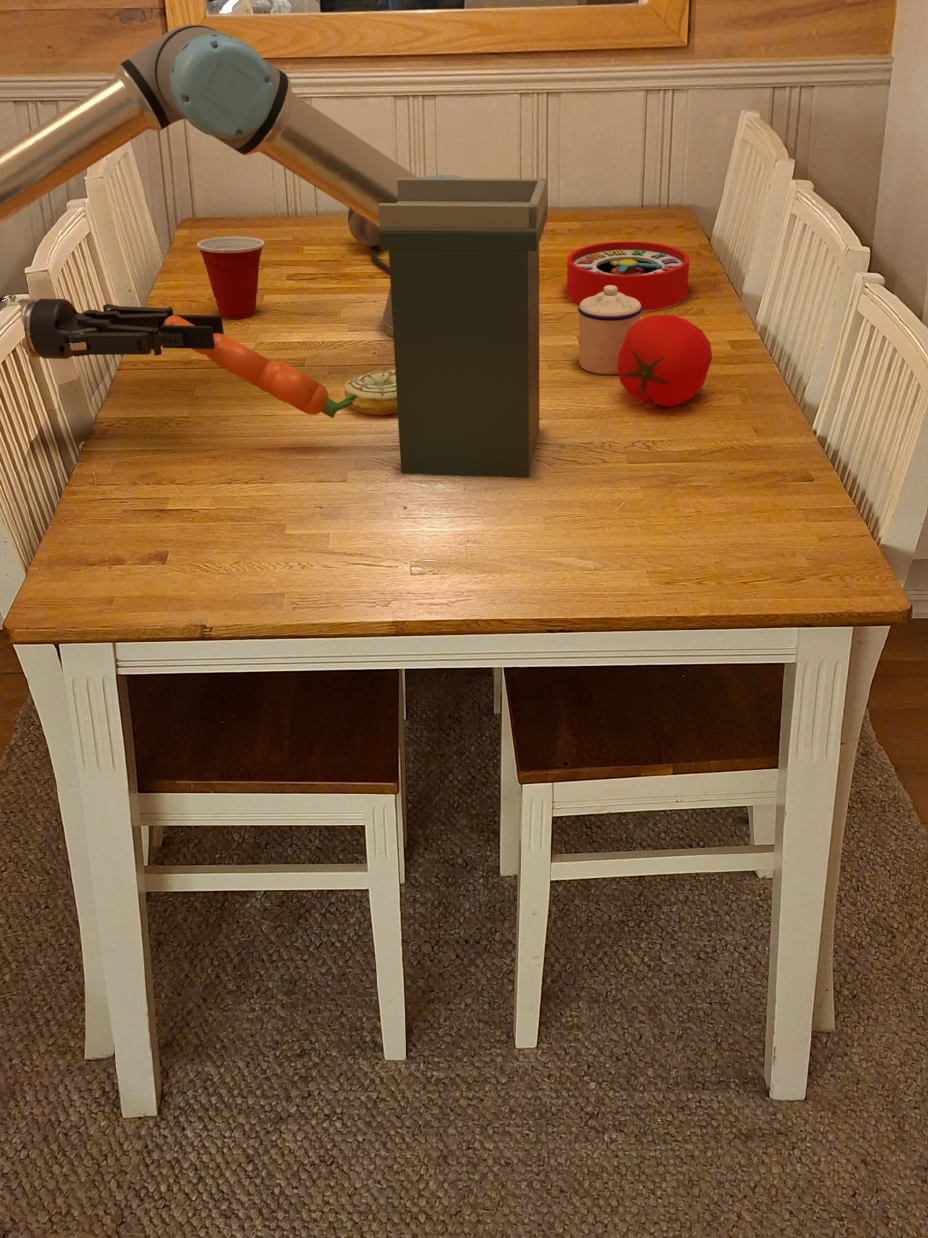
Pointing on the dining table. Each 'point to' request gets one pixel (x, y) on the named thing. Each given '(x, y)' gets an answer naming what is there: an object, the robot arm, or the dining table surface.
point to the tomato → (664, 360)
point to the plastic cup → (233, 273)
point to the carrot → (269, 375)
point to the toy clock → (630, 273)
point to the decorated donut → (374, 392)
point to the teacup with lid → (605, 328)
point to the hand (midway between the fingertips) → (217, 332)
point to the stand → (466, 322)
